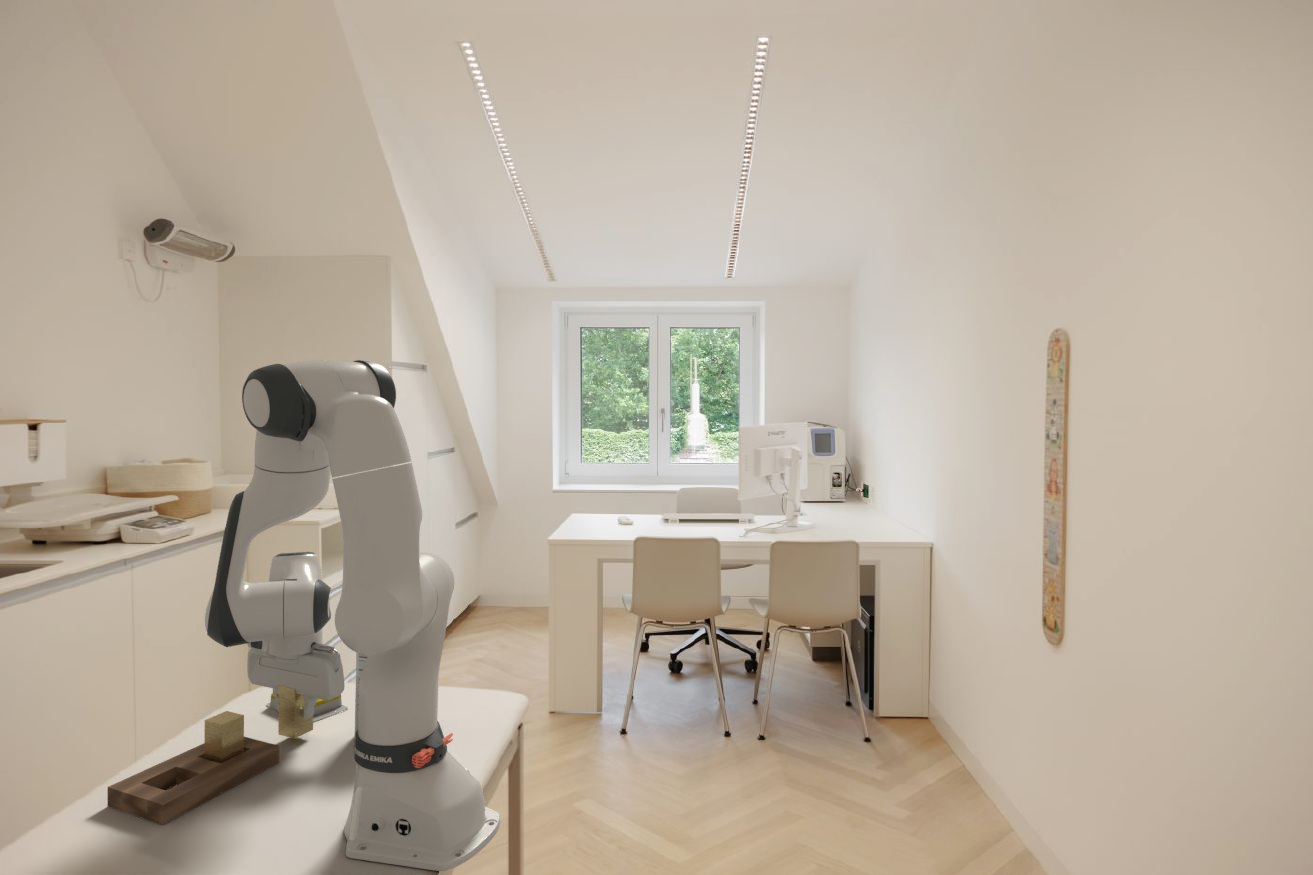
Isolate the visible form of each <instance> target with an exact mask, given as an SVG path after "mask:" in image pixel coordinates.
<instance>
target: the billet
mask: <svg viewBox="0 0 1313 875" xmlns="http://www.w3.org/2000/svg"><path fill="white" fill-rule="evenodd" d="M306 701H307V700H306ZM306 701H305V700H304V695H301V694H297V693H296V689H293V688H289V687H284V686H280V685H279V686H278V710H279V712H278V735H279V736H283V737H287V738H290V739H298V738H299V737H301V736H303V735H305V734H307V733H310V732H311V731H313V730H314V723H313V716H312V717H310V718H308V719H307V718H303V717H300V708H302V707H304V706H305V703H306Z"/></svg>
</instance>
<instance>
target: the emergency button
mask: <svg viewBox="0 0 1313 875" xmlns="http://www.w3.org/2000/svg"><path fill="white" fill-rule="evenodd" d="M266 707H267V708H269V709H271V710H273V711H275V712H278V703H277V701H276V699H275V697H274V695H273V692H271V694H270V701H269V702H268V703H266ZM348 709H349V707H348V706H346V705H343V701H342V694H341V695H339V696H337V697H335V698H333V699H330V700H323V699H318V700H317V702H316V704H315V706H314V715H313V724H314V723H317V722H319V721H322V720H324V719H326V718H330V717H332V715H333V716H335V715H337V713H338V714H340V713H339V712H341V711H343V712H345V711H344V710H346V711H348ZM335 711H336V712H335ZM278 713H279V712H278ZM341 713H342V712H341ZM334 714H335V715H334Z"/></svg>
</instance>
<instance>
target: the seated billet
mask: <svg viewBox="0 0 1313 875" xmlns="http://www.w3.org/2000/svg"><path fill="white" fill-rule="evenodd" d="M244 734H245V714H241V713H237V712H233V711H230V710H229V711H228V710H226V711H223V712H220V713H218V714H216V715H213V716H211V717H209V718H207V719H204V740H203V741H204V742H203V743H204V759H206V760H210V761H214V762H217V763H223V762H225V761H227V760H229V759H231V758H233V757H236V756H238V755H240V754H242V753H244V737H245V735H244Z"/></svg>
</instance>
